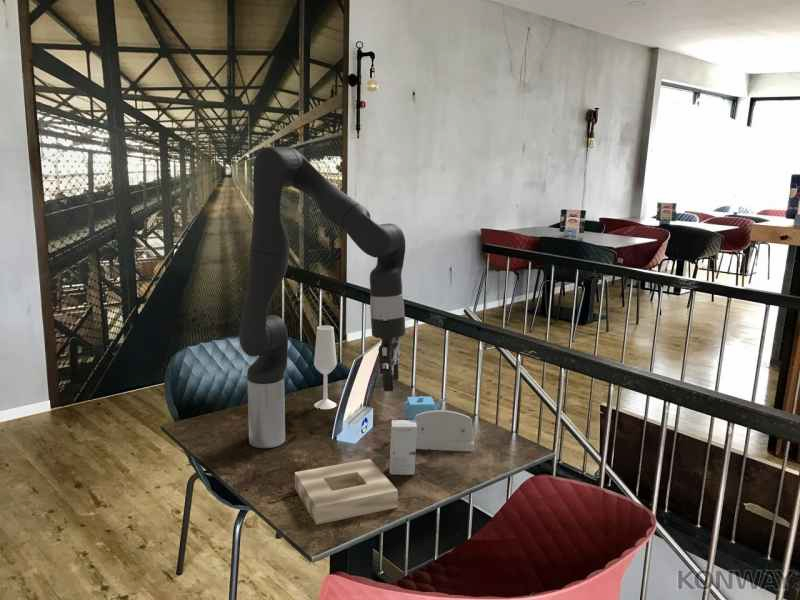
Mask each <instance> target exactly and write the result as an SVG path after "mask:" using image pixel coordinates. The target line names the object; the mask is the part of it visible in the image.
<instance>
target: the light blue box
mask: <svg viewBox="0 0 800 600" xmlns="http://www.w3.org/2000/svg"><path fill="white" fill-rule="evenodd" d="M444 401H446V399H444V398H442V399H439V400H438V401H437V402H436V403H435V401H434V398H433V396H423V395H422V396H421V395H420V396H407V397H406V401H404V402H403V405H402V408H403V410H404V411H405V413H404V417H405V418H407V420H409V421H414V417H415V416H416V415H417V414H420V413H423V412H427V411H434V410H440V406H441V404H442V402H444Z"/></svg>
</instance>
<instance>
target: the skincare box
mask: <svg viewBox="0 0 800 600" xmlns="http://www.w3.org/2000/svg"><path fill="white" fill-rule="evenodd" d="M390 426H391V427H390V447H389V448H390V449H389V450H390V451H389V465H388V466H389V475H396V476H397V475H401V476H403V475H405V476H409V475H411V476H412V475H415V472H416V453H417V451H416V450H417V449H416V437H417V425H416V421H409V420H408V419H400V420H399V419H392V420H391V425H390Z"/></svg>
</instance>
